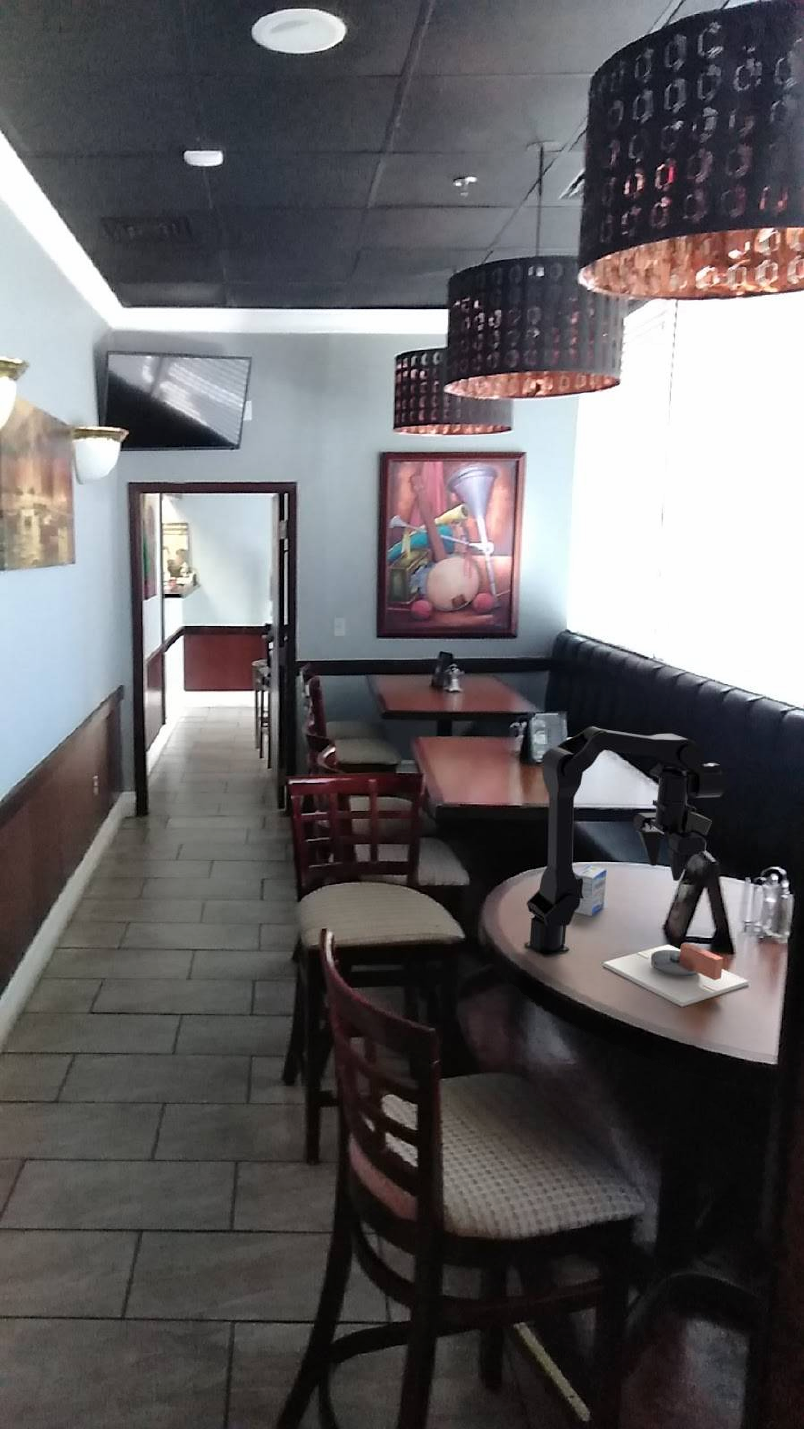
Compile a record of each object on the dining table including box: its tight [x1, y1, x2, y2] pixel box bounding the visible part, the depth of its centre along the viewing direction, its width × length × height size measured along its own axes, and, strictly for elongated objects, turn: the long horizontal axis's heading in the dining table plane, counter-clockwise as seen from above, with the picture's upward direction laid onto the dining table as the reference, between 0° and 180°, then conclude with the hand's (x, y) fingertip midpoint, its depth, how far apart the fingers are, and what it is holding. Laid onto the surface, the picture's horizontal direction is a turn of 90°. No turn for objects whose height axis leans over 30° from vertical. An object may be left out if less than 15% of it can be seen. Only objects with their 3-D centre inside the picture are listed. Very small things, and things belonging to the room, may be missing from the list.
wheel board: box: [603, 944, 749, 1008], centre depth 186 cm, size 18×19×2 cm
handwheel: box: [651, 942, 724, 980], centre depth 184 cm, size 9×14×5 cm, turn 34°
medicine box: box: [574, 865, 607, 917], centre depth 218 cm, size 8×4×9 cm, turn 148°
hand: (664, 872), depth 202 cm, fingers open, 9 cm apart
